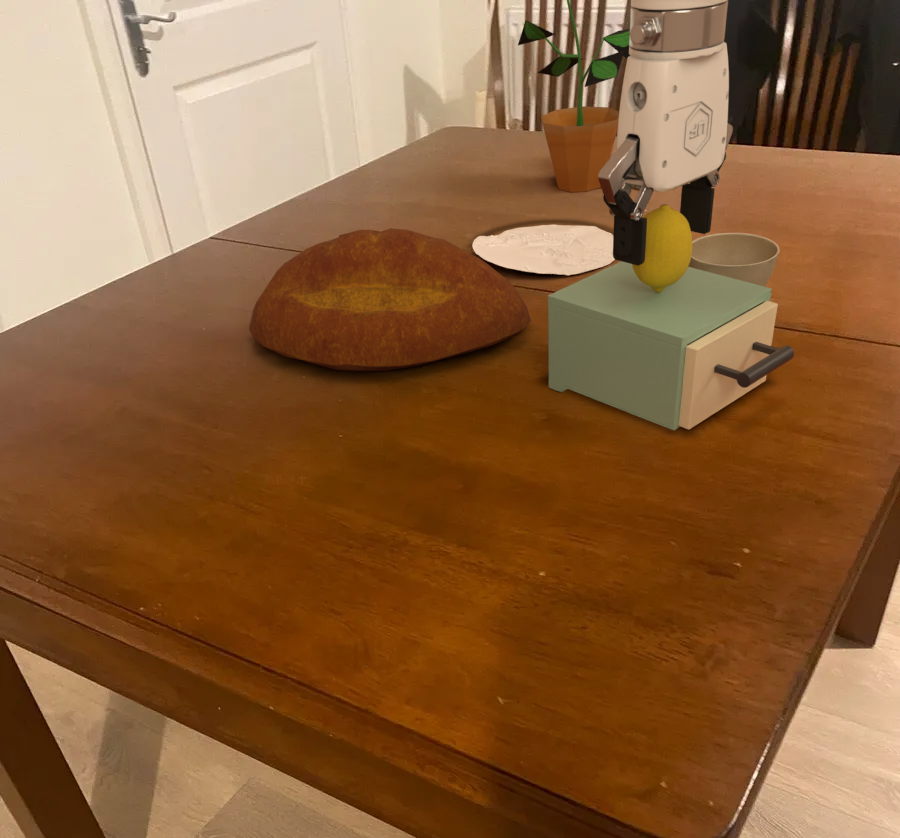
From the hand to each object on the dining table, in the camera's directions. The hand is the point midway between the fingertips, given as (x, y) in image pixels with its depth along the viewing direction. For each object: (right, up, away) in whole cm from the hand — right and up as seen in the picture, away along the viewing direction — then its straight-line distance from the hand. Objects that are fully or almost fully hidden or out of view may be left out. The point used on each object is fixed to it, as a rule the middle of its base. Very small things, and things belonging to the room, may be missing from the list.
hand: (662, 245), depth 85 cm
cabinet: (+1, -11, +9) cm, 14 cm away
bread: (-27, -3, +22) cm, 35 cm away
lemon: (0, -3, +3) cm, 5 cm away
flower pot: (+12, +1, +22) cm, 25 cm away
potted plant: (+1, +34, +62) cm, 71 cm away
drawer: (+3, -12, +6) cm, 14 cm away
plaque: (-6, +15, +41) cm, 44 cm away
